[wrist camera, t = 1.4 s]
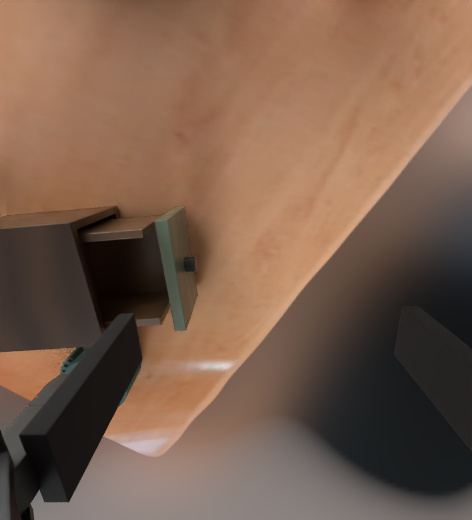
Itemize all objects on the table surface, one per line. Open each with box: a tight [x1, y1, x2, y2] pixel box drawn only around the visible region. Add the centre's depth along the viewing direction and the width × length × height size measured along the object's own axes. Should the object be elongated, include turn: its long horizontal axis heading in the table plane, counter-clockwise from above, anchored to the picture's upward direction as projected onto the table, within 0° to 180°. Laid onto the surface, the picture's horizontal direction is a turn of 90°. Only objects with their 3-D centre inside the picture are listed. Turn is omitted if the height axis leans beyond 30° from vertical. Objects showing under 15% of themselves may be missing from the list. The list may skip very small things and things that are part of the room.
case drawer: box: [77, 206, 198, 331], centre depth 30 cm, size 14×11×8 cm
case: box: [0, 206, 119, 352], centre depth 31 cm, size 14×13×10 cm
